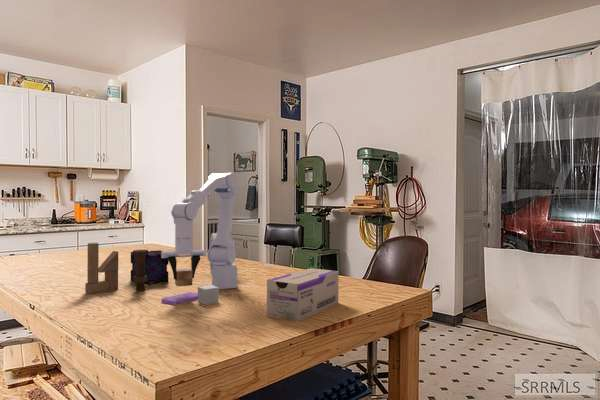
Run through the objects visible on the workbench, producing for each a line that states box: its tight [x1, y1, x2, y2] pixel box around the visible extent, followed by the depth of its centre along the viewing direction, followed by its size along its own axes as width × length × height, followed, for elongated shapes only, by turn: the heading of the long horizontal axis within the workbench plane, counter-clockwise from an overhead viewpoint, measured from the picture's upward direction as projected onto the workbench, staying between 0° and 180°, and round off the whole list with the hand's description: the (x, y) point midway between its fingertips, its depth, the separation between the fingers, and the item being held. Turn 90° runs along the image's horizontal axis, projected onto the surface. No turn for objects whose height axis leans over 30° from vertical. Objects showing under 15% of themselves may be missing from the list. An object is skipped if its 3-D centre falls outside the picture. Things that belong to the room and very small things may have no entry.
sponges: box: [160, 291, 198, 306], centre depth 140 cm, size 7×13×2 cm, turn 147°
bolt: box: [131, 249, 150, 292], centre depth 153 cm, size 6×5×15 cm
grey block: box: [197, 284, 220, 306], centre depth 137 cm, size 5×5×5 cm
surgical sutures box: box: [266, 267, 339, 323], centre depth 129 cm, size 25×11×11 cm, turn 148°
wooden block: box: [84, 242, 119, 295], centre depth 153 cm, size 4×11×18 cm, turn 145°
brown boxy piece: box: [174, 267, 193, 287], centre depth 140 cm, size 5×5×5 cm
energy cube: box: [130, 249, 170, 286], centre depth 171 cm, size 12×12×12 cm
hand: (183, 278), depth 140 cm, fingers closed on brown boxy piece, 5 cm apart
